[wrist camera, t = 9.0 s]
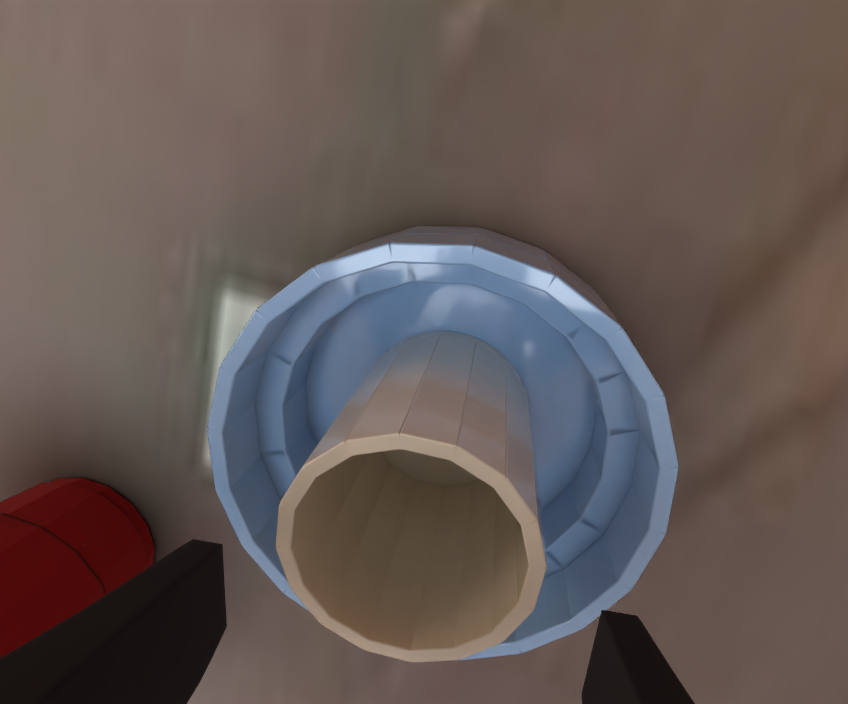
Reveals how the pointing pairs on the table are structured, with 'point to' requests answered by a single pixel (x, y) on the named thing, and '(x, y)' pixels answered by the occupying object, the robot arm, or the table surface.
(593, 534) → the bowl
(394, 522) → the cup
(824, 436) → the table surface
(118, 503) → the plastic cup
